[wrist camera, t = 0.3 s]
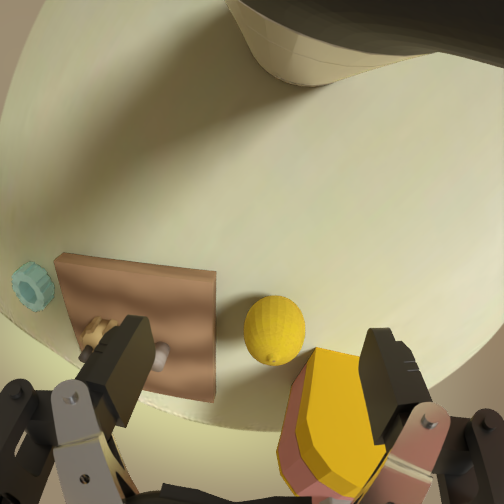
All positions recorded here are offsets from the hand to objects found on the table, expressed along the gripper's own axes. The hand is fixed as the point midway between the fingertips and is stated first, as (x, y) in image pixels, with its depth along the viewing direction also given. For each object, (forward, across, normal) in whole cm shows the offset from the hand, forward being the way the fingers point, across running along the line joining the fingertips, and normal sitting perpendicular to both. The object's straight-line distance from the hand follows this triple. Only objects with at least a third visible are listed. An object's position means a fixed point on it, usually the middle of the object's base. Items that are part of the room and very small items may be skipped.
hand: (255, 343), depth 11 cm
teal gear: (+18, +29, +10) cm, 35 cm away
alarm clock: (+18, -10, +22) cm, 30 cm away
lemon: (+18, -1, +10) cm, 21 cm away
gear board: (+18, +14, +16) cm, 28 cm away
